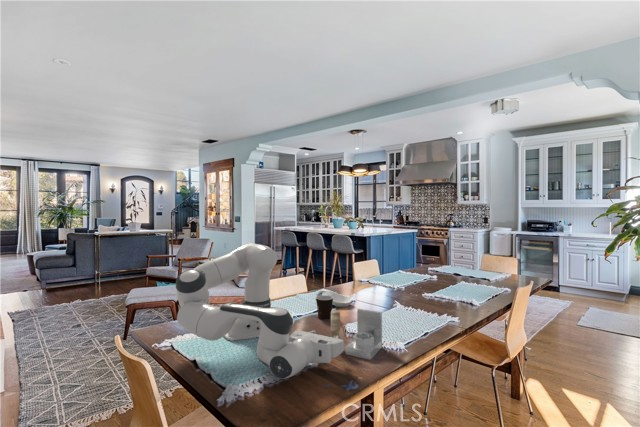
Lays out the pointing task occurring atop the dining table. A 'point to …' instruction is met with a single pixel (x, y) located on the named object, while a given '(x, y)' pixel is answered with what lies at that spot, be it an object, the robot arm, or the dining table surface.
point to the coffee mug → (324, 306)
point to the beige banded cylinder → (335, 323)
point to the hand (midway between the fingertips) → (326, 335)
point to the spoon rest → (337, 298)
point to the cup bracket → (366, 335)
